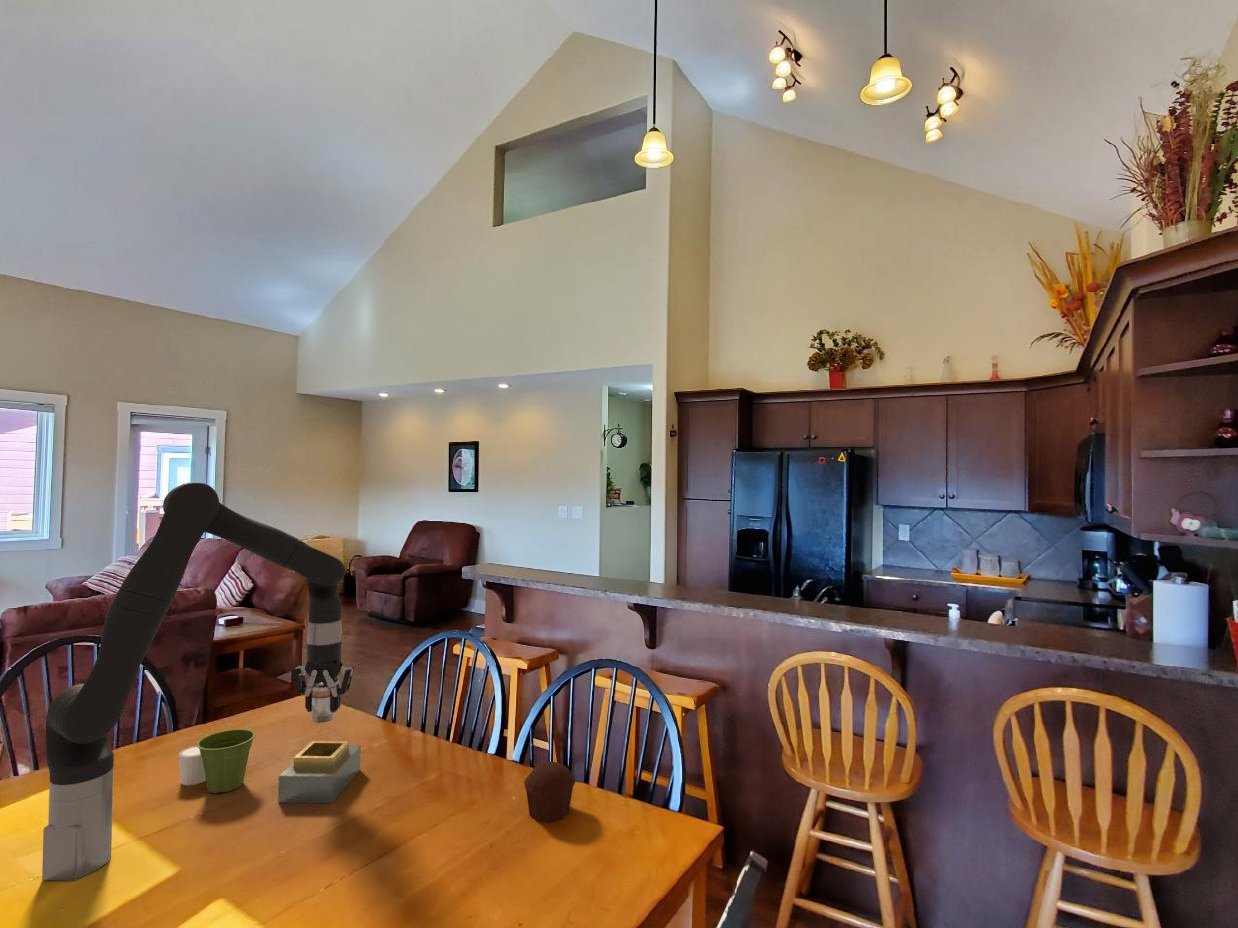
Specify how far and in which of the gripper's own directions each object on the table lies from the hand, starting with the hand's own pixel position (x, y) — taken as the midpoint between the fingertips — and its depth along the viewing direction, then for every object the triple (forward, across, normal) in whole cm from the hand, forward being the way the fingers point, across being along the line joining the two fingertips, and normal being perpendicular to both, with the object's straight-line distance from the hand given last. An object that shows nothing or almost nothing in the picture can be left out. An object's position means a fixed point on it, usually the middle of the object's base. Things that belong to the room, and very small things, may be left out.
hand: (322, 710), depth 150 cm
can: (+2, 0, 0) cm, 2 cm away
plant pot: (+18, -22, -1) cm, 28 cm away
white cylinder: (+18, -31, +2) cm, 36 cm away
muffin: (+18, +55, -10) cm, 59 cm away
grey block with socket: (+18, 0, 0) cm, 18 cm away
